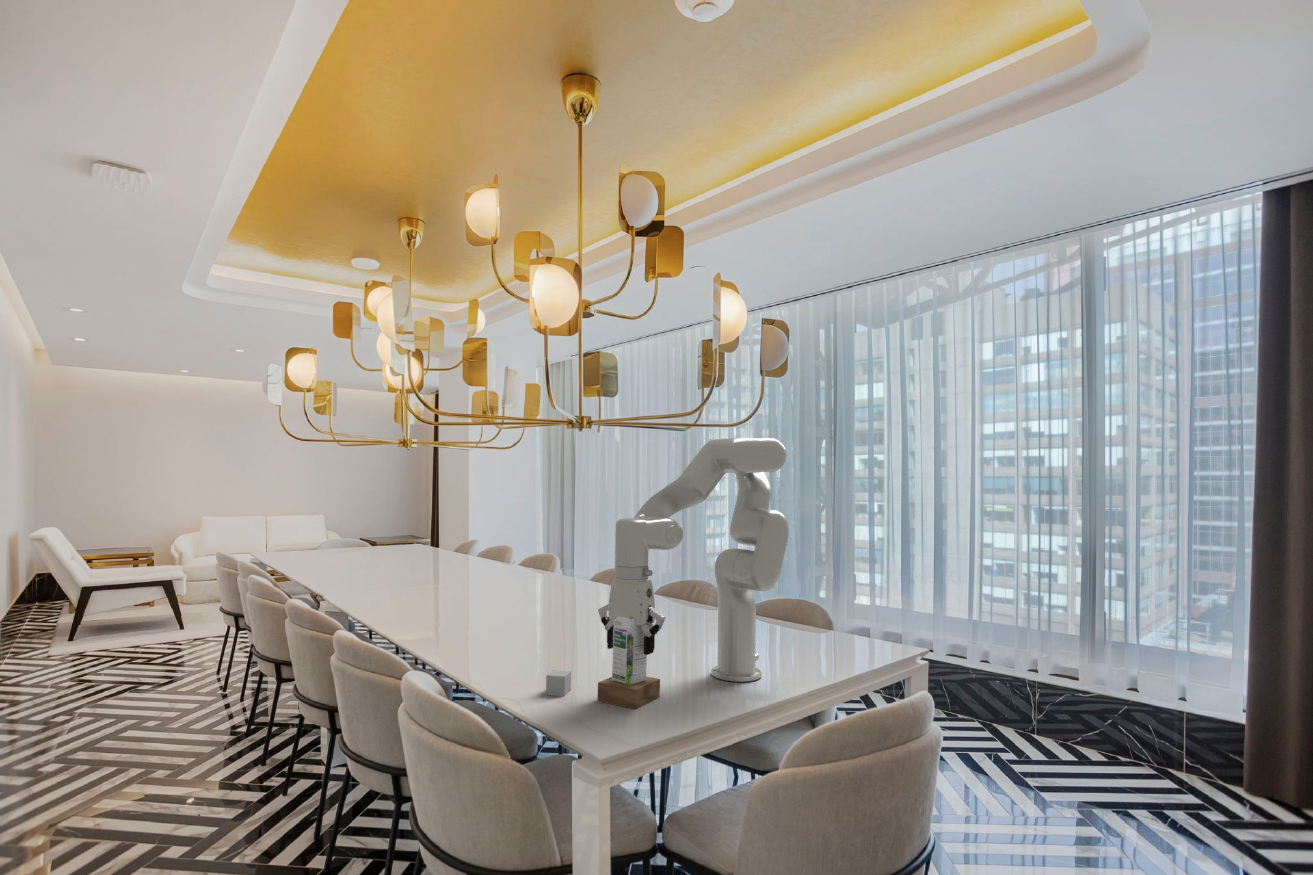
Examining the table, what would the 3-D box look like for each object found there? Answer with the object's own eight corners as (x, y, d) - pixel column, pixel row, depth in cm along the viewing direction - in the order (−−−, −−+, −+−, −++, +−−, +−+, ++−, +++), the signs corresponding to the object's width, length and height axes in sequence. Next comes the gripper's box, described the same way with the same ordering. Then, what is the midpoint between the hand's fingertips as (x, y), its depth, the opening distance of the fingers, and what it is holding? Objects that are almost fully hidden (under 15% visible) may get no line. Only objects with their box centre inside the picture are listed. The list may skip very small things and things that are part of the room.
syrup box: (610, 680, 154) (612, 614, 155) (629, 675, 159) (630, 611, 159) (629, 686, 150) (630, 618, 151) (647, 680, 155) (648, 614, 156)
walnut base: (622, 689, 161) (623, 672, 161) (659, 697, 156) (659, 679, 156) (597, 701, 152) (597, 682, 153) (635, 709, 147) (636, 690, 147)
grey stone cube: (552, 689, 161) (553, 670, 161) (570, 690, 160) (571, 671, 160) (545, 695, 156) (546, 675, 157) (564, 696, 155) (564, 676, 156)
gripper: (673, 574, 155) (672, 652, 153) (609, 568, 163) (608, 642, 162) (655, 578, 148) (654, 660, 147) (590, 572, 157) (589, 648, 156)
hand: (630, 650), depth 155 cm, fingers open, 9 cm apart
